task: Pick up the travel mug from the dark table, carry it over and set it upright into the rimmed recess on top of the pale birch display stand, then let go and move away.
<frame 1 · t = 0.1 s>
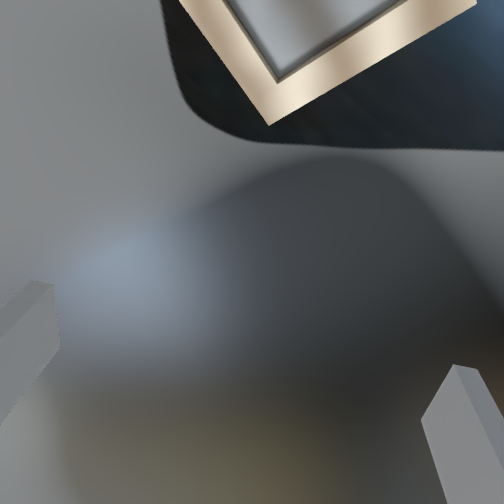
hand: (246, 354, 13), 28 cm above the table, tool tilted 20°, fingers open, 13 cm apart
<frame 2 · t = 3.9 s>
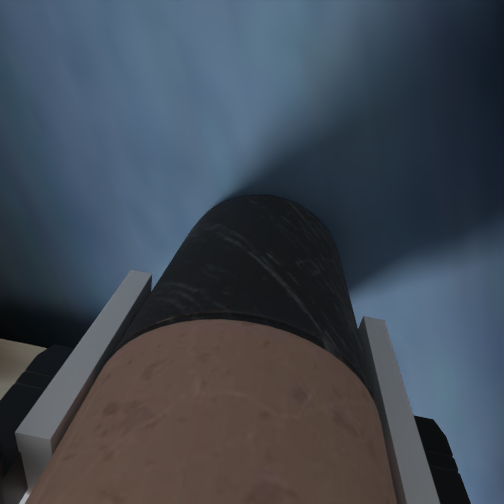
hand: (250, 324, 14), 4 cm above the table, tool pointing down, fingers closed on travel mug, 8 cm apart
display stand: (99, 445, 26), on the table
travel mug: (260, 264, 18), on the table, touching gripper
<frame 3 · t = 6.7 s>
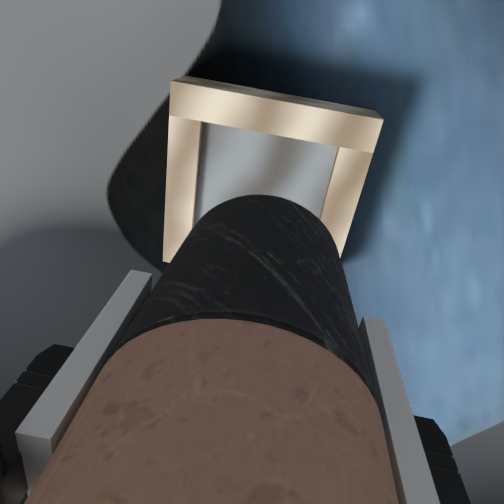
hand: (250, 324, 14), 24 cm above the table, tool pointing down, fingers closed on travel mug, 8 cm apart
display stand: (263, 183, 36), on the table
travel mug: (261, 263, 18), point 19 cm above the table, touching gripper
when the fingers open (10 cm above the table, at t = 9.8 s): travel mug drops 3 cm, resting on display stand.
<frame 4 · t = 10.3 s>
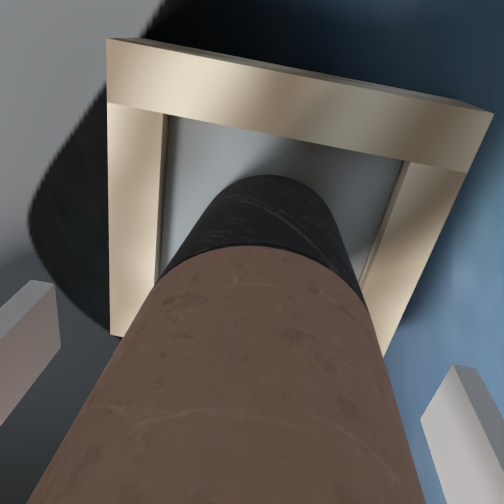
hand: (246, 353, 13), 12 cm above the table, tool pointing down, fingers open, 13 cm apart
display stand: (268, 214, 23), on the table
travel mug: (268, 239, 20), point 3 cm above the table, touching display stand
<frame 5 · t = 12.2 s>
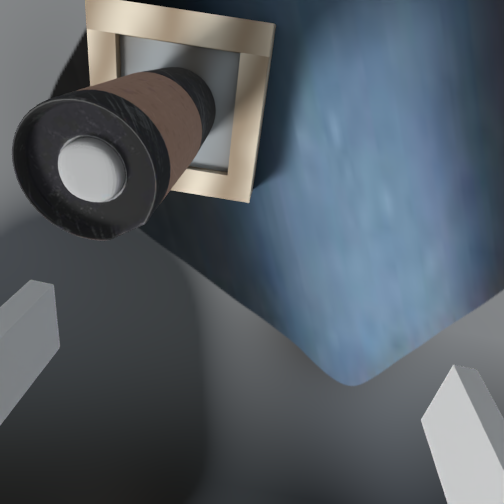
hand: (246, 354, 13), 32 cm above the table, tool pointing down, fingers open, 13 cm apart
display stand: (185, 103, 40), on the table
travel mug: (179, 107, 37), point 3 cm above the table, touching display stand
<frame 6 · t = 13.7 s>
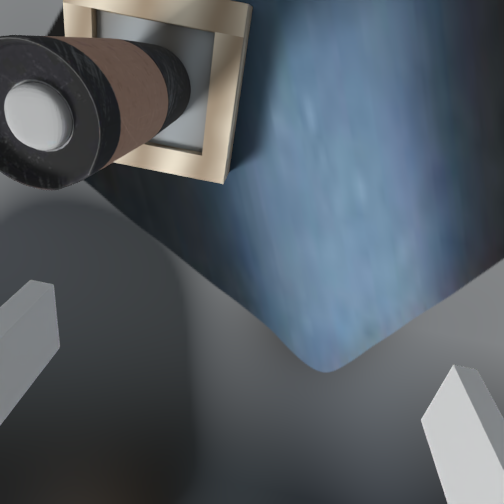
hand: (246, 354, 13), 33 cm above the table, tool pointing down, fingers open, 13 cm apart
display stand: (163, 82, 40), on the table
travel mug: (155, 86, 37), point 3 cm above the table, touching display stand
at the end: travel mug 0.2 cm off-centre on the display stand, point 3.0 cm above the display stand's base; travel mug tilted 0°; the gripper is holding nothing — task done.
